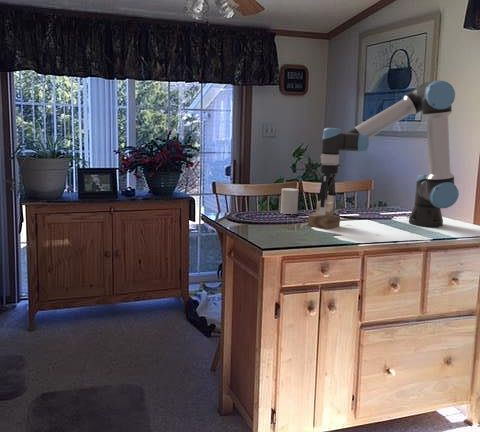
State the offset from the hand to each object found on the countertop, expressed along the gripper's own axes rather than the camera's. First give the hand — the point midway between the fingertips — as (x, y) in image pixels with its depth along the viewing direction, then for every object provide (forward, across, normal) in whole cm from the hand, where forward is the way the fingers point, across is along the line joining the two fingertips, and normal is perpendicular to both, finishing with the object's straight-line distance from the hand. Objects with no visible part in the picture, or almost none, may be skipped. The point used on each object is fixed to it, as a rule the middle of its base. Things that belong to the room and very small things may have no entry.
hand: (326, 212), depth 236 cm
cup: (+6, -19, -23) cm, 31 cm away
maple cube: (+2, 0, -1) cm, 2 cm away
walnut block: (+7, 0, -1) cm, 7 cm away
